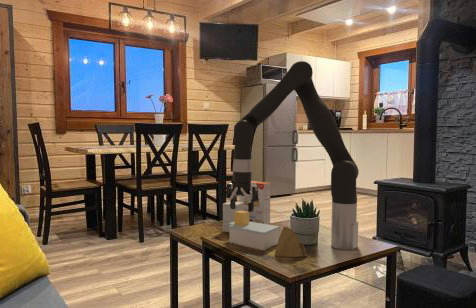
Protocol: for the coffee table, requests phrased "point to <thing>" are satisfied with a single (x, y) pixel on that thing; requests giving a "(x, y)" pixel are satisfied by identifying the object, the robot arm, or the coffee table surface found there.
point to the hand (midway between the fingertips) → (241, 210)
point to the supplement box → (230, 214)
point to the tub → (254, 239)
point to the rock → (289, 245)
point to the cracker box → (259, 204)
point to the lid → (250, 224)
